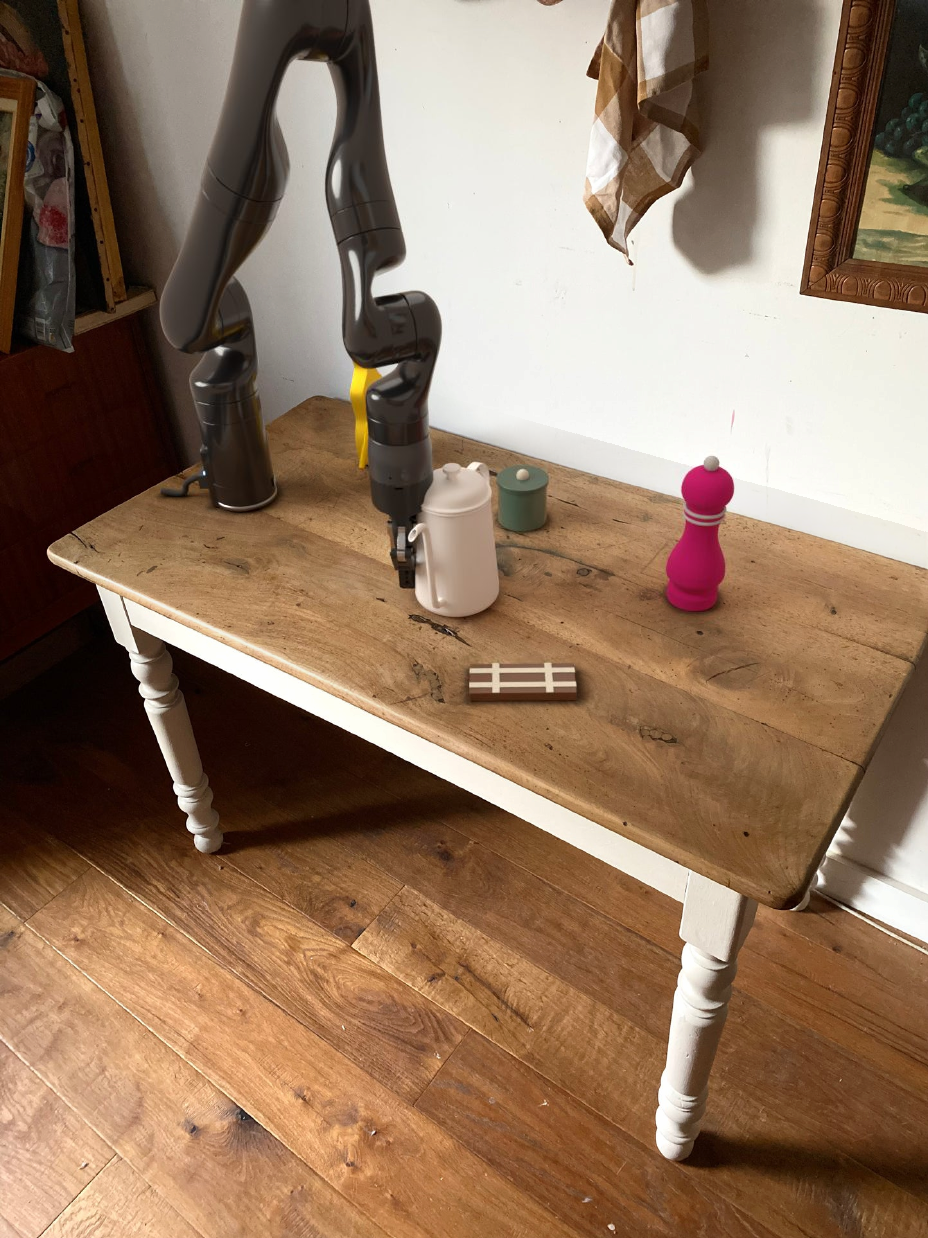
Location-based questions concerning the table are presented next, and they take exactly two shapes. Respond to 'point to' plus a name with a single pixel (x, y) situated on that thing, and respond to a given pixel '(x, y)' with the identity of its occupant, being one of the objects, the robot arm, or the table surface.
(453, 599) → the coffeepot
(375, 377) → the figure statuette
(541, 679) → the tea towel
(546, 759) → the table surface
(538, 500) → the canister
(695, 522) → the pepper mill
